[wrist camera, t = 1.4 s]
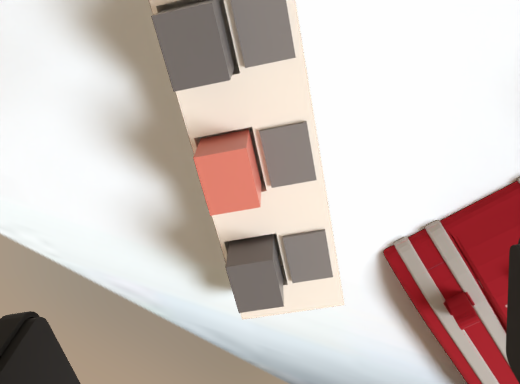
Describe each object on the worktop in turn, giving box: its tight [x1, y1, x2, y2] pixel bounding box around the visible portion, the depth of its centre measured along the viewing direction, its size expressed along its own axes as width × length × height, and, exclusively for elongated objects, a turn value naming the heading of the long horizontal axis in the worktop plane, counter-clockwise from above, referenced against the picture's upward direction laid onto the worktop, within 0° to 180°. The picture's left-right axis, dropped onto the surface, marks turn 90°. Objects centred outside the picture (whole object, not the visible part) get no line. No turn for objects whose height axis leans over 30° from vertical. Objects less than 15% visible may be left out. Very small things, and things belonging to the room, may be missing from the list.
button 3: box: [226, 234, 284, 313], centre depth 33 cm, size 4×3×3 cm
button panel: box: [149, 0, 344, 320], centre depth 30 cm, size 32×8×4 cm, turn 12°
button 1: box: [152, 0, 235, 92], centre depth 26 cm, size 4×3×3 cm
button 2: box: [193, 130, 262, 216], centre depth 29 cm, size 4×3×3 cm
